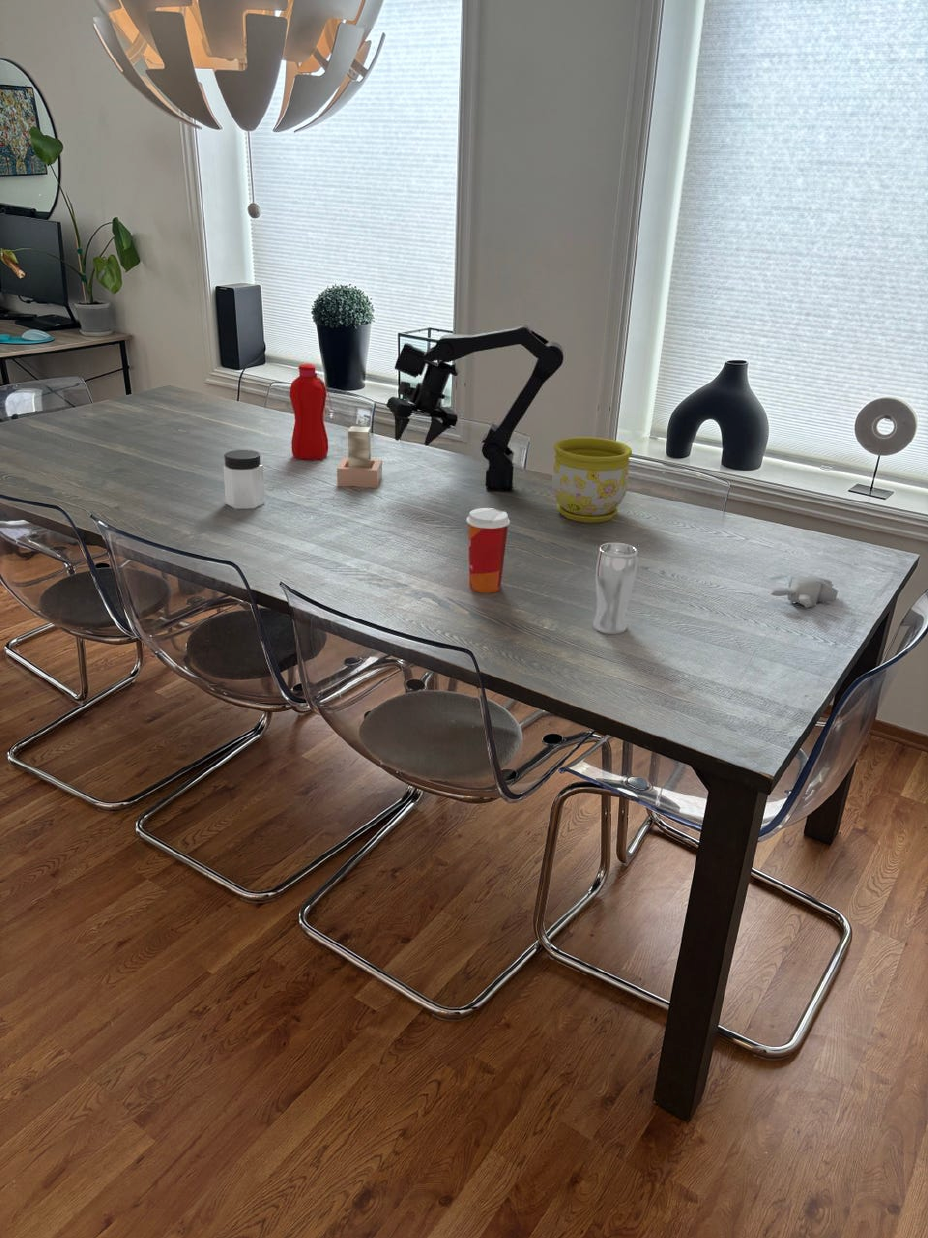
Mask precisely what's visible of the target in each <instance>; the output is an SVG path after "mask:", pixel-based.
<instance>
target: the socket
mask: <svg viewBox="0 0 928 1238" xmlns="http://www.w3.org/2000/svg"><path fill="white" fill-rule="evenodd" d="M382 477H383V459H381V458H380V459H377V458H371V469H369V468H349V467H348V457H343V458H342V459H341V461H340V463H339V465H338V466H337V468H336V479H337V480H336V482H337V487H348V486H357V487H356V488H368V487H376V488H375V489H377V488H378V486H379V484H380V482H381V480H380V479H382ZM379 481H380V482H379Z"/></svg>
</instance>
